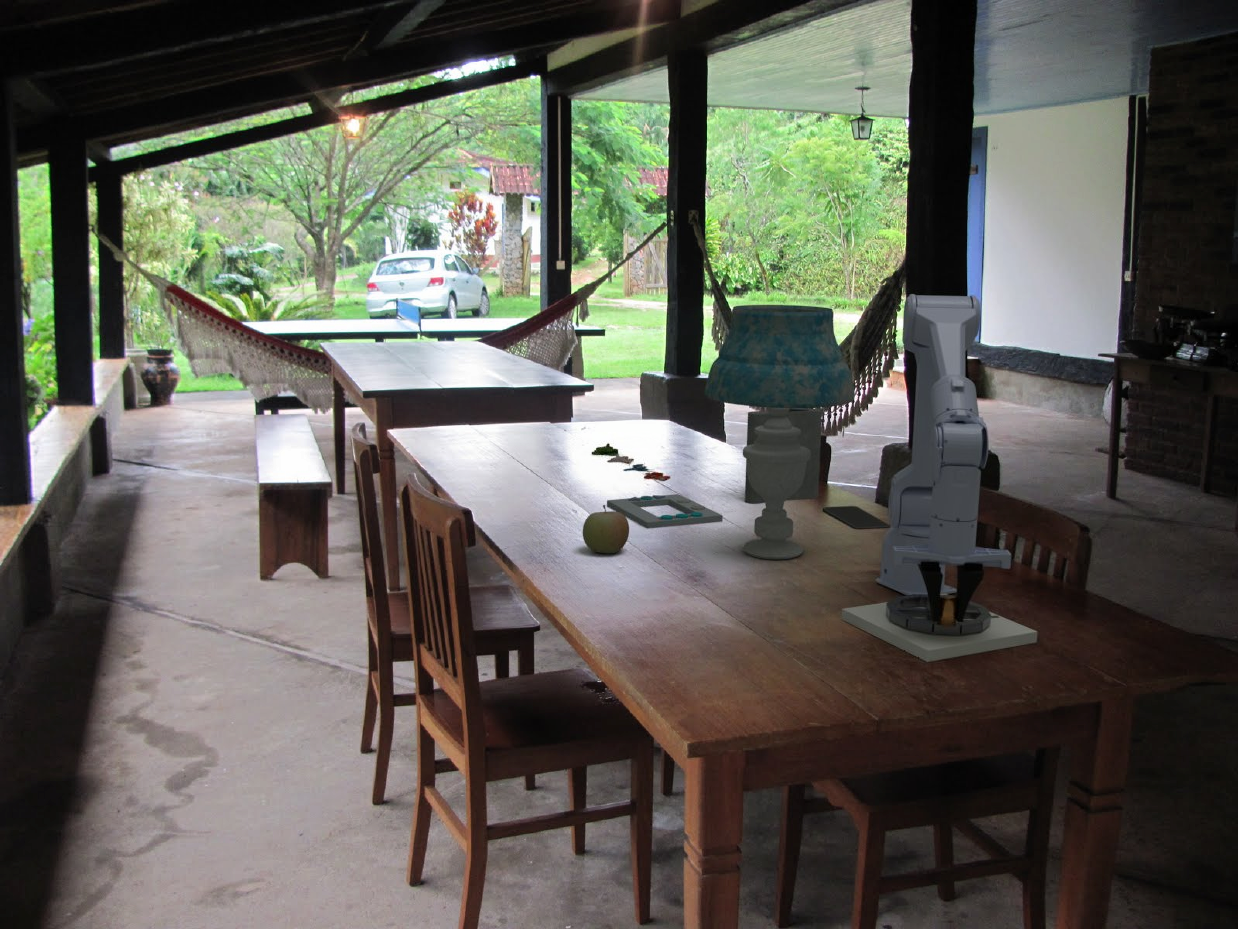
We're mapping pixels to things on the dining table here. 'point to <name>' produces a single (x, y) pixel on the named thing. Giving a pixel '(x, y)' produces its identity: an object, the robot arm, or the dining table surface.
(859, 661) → the dining table surface
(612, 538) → the fruit
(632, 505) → the picture frame
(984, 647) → the base plate
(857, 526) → the smartphone
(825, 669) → the dining table surface
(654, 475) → the toy spaceship set
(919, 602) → the handwheel
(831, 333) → the table lamp
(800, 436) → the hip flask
